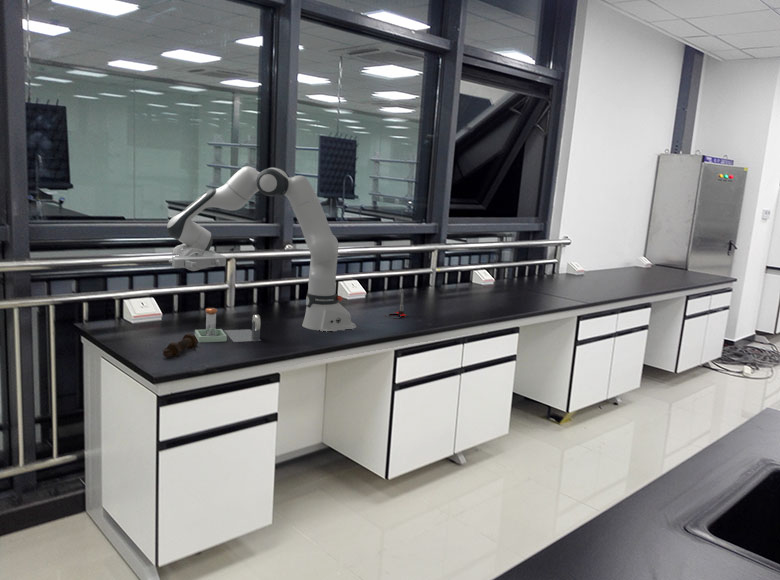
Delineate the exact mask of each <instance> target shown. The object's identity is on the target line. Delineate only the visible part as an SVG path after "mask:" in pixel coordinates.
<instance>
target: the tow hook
mask: <svg viewBox="0 0 780 580" xmlns="http://www.w3.org/2000/svg"><path fill="white" fill-rule="evenodd" d="M395 313H397V314H401V315H400V316H408V315H407V314H406V313H405V311H404V289H403V288H402V289H401V293H400V305H399V310H398V311H396V312H395Z"/></svg>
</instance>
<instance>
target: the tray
mask: <svg viewBox="0 0 780 580" xmlns="http://www.w3.org/2000/svg"><path fill="white" fill-rule="evenodd" d="M194 335H195V336H196V338H197V340H198V343H217V342H218V343H219V342H227V341H228V340H227V339H228V338H227V337H228V334H227V333H226V332H225V331H224V330H223V329H222V328H216V334H215V336H206V329H194Z"/></svg>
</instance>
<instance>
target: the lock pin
mask: <svg viewBox="0 0 780 580" xmlns="http://www.w3.org/2000/svg"><path fill="white" fill-rule="evenodd" d="M217 313H218V309H217V308H215V307H207V308H205V314H206V315H205V318H206V319H205V330H206V336H216V335H215V334H216V329H217V328H216V327H217V326H216V324H217Z"/></svg>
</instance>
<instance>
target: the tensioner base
mask: <svg viewBox="0 0 780 580" xmlns="http://www.w3.org/2000/svg"><path fill="white" fill-rule="evenodd" d="M251 323H252V325H251V329H250V328H249V329H228V330H225V329H224V330H223V332H224V333H225V334H226V335H227V337H229V338H230V340H232V342H233V343H238V342H240V343H242V342H259V341H260V342H261V341H262V340H261V338H260V337H261V326H262V325H261V324H262V323H261V316H260V315H259V314H253V315H252V320H251Z"/></svg>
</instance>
